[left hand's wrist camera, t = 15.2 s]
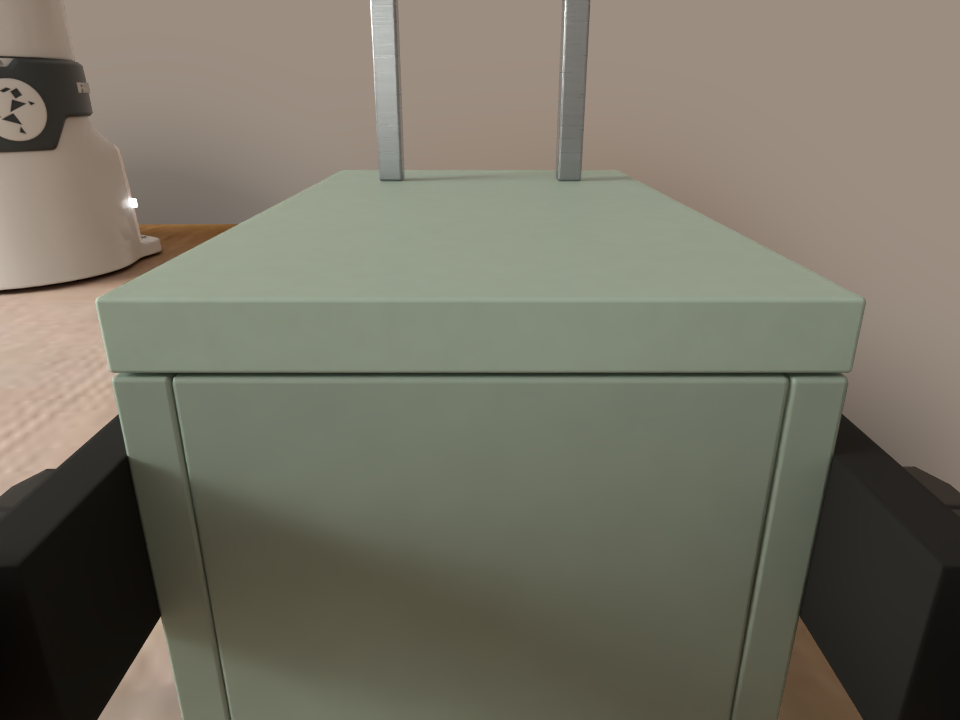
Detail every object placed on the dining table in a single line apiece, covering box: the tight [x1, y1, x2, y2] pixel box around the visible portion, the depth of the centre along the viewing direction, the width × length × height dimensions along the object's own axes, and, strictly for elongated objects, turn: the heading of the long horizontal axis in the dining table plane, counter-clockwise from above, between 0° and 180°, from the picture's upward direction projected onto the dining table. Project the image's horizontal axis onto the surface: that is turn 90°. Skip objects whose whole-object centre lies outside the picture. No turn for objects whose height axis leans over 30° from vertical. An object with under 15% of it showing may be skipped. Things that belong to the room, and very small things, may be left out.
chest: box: [112, 373, 848, 720], centre depth 17 cm, size 15×10×9 cm, turn 0°
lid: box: [95, 0, 866, 373], centre depth 15 cm, size 16×10×8 cm, turn 0°
